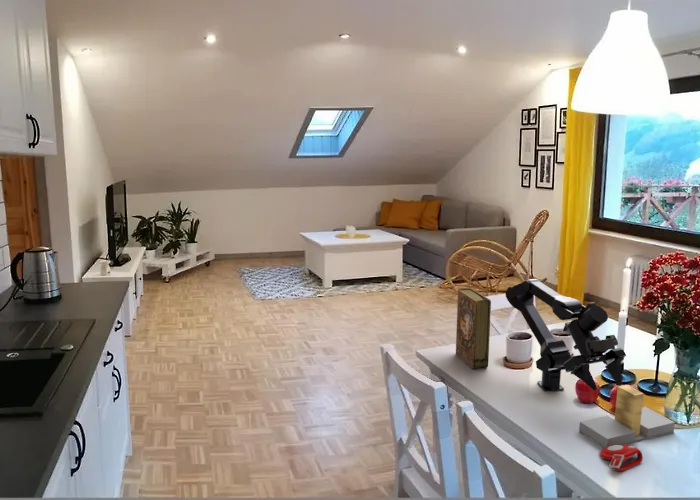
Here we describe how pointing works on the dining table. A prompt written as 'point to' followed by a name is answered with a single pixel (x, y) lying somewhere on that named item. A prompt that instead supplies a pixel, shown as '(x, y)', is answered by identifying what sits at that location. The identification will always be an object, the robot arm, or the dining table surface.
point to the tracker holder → (621, 456)
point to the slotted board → (625, 429)
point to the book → (473, 328)
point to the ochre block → (629, 407)
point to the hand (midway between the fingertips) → (608, 387)
